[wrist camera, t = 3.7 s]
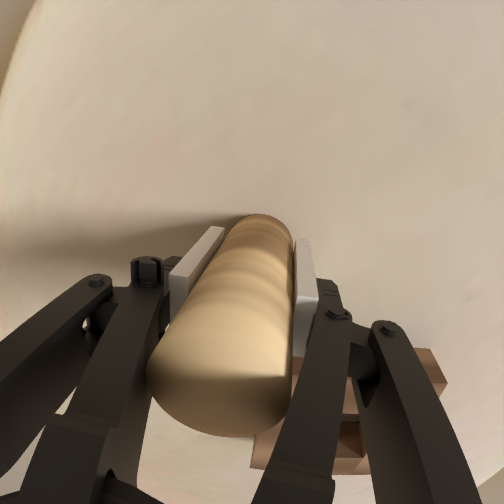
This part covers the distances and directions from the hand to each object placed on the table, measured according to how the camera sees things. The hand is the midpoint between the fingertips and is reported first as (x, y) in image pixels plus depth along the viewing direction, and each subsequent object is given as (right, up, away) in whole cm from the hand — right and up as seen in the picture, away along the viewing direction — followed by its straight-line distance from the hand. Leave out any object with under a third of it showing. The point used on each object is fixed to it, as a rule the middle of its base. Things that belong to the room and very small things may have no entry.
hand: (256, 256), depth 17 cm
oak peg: (0, +1, +1) cm, 2 cm away
